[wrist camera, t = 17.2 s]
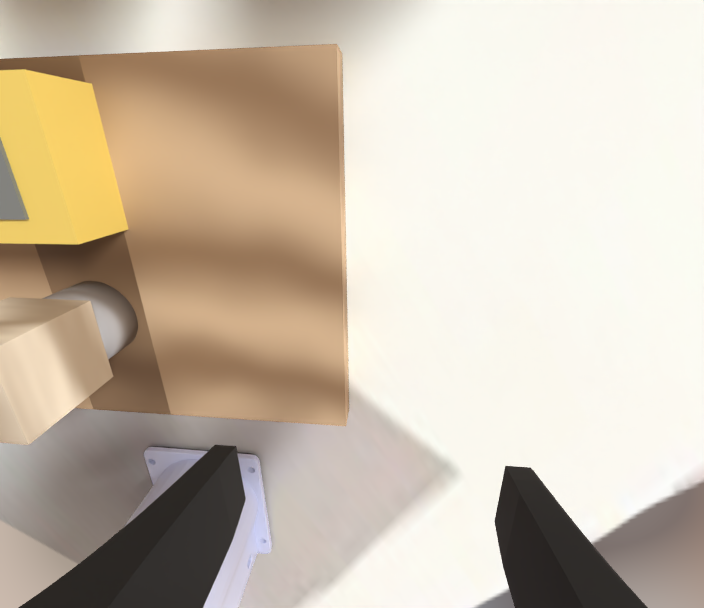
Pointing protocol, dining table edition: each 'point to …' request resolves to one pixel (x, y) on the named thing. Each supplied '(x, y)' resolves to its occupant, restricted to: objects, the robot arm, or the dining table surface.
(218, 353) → the board
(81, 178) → the stud finder
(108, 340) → the wooden block with base
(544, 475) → the dining table surface
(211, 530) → the robot arm
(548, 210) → the dining table surface
